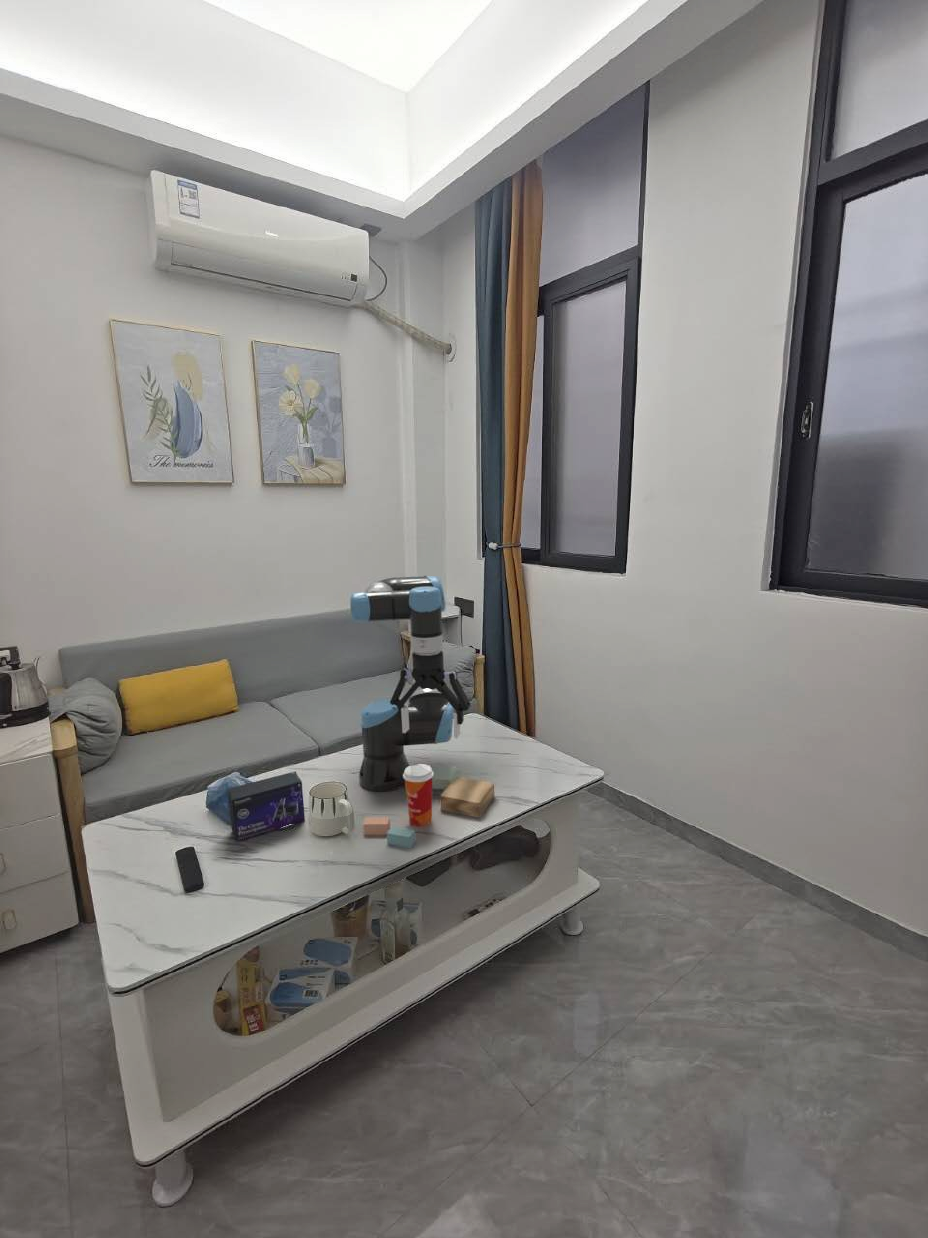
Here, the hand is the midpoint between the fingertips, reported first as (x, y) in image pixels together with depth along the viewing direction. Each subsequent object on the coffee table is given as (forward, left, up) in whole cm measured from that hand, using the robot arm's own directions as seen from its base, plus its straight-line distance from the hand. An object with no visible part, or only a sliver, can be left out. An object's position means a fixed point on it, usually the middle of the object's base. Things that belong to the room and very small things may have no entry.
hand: (431, 733), depth 144 cm
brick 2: (-3, -13, -23) cm, 27 cm away
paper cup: (-3, -3, -23) cm, 23 cm away
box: (-38, -19, -23) cm, 48 cm away
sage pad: (-7, +17, -23) cm, 29 cm away
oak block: (+5, +9, -23) cm, 25 cm away
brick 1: (-11, -11, -23) cm, 28 cm away
